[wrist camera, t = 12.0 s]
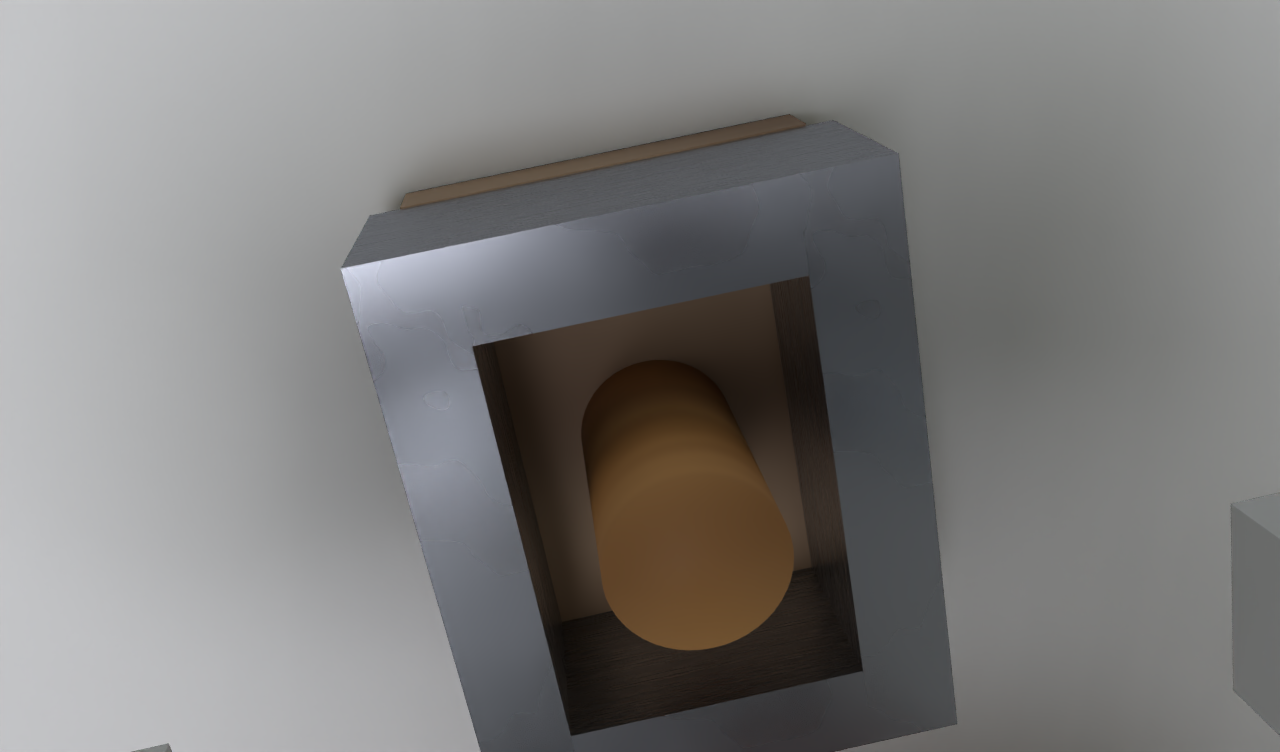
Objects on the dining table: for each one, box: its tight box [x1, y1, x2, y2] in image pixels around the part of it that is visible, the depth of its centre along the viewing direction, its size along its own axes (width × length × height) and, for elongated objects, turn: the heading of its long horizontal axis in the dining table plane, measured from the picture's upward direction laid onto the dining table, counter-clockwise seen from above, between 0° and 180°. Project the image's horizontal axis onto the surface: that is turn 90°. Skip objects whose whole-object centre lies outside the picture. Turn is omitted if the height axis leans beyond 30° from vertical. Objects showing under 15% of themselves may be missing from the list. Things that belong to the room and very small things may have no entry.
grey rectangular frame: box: [341, 120, 957, 752], centre depth 19 cm, size 10×8×4 cm
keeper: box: [400, 114, 812, 650], centre depth 19 cm, size 10×7×6 cm
